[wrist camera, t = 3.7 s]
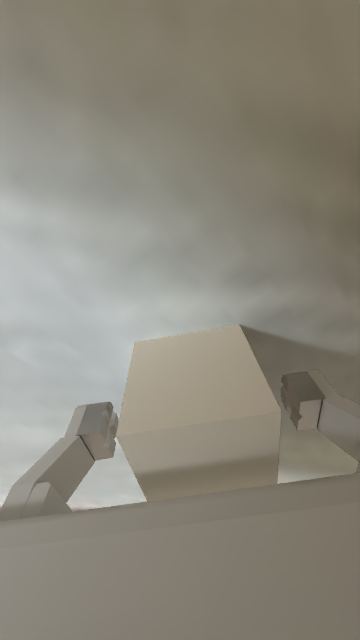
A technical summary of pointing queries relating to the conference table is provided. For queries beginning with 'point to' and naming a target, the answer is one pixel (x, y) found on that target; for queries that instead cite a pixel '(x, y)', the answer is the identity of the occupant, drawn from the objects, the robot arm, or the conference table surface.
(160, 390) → the cream cube
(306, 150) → the conference table surface
